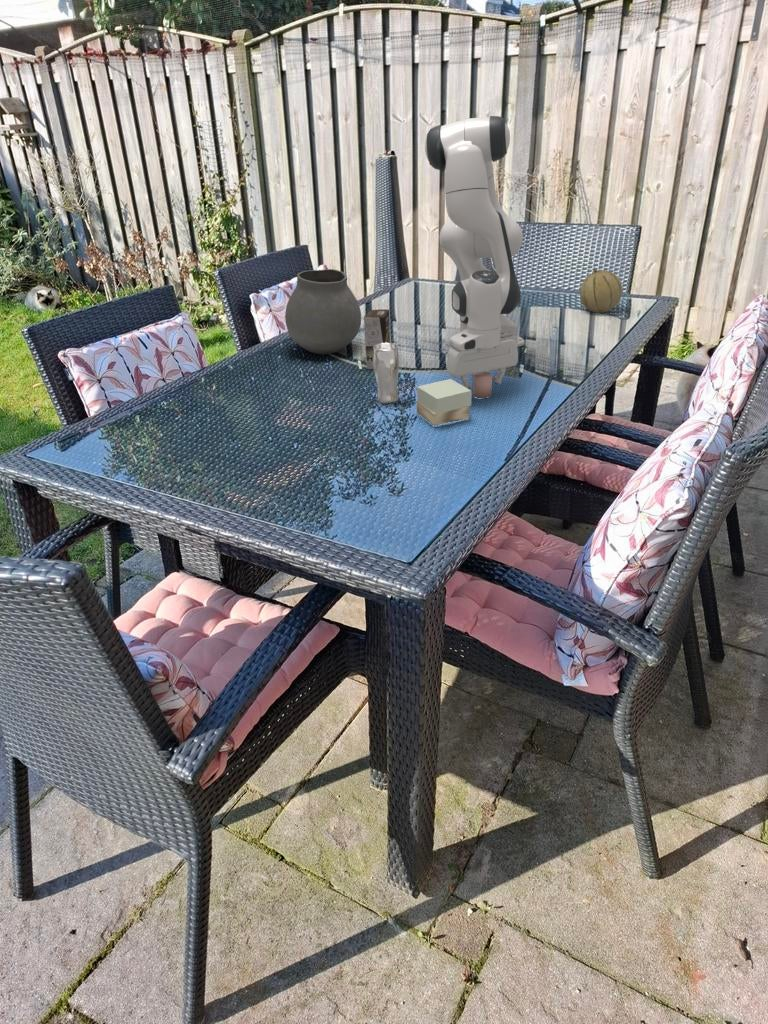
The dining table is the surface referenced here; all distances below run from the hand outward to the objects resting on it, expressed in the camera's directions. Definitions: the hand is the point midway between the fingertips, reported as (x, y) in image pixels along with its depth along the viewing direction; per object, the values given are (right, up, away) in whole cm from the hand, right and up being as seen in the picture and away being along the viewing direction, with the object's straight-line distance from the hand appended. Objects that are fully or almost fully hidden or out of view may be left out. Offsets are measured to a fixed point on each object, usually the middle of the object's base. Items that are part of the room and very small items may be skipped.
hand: (482, 386), depth 191 cm
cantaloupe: (+52, +39, +66) cm, 93 cm away
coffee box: (-28, +11, +27) cm, 41 cm away
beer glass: (-26, -4, +2) cm, 26 cm away
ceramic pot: (-46, +19, +42) cm, 65 cm away
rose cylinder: (0, -2, +1) cm, 3 cm away
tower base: (-12, -10, -10) cm, 18 cm away
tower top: (-11, -6, -12) cm, 18 cm away
